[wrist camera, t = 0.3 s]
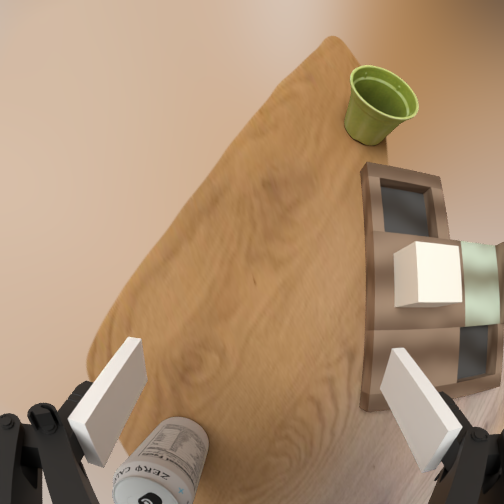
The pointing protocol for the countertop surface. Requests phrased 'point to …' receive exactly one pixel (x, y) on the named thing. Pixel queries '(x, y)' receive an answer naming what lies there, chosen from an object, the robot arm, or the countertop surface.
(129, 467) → the energy drink can
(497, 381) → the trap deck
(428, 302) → the block
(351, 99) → the plant pot
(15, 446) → the robot arm
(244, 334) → the countertop surface
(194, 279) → the countertop surface
